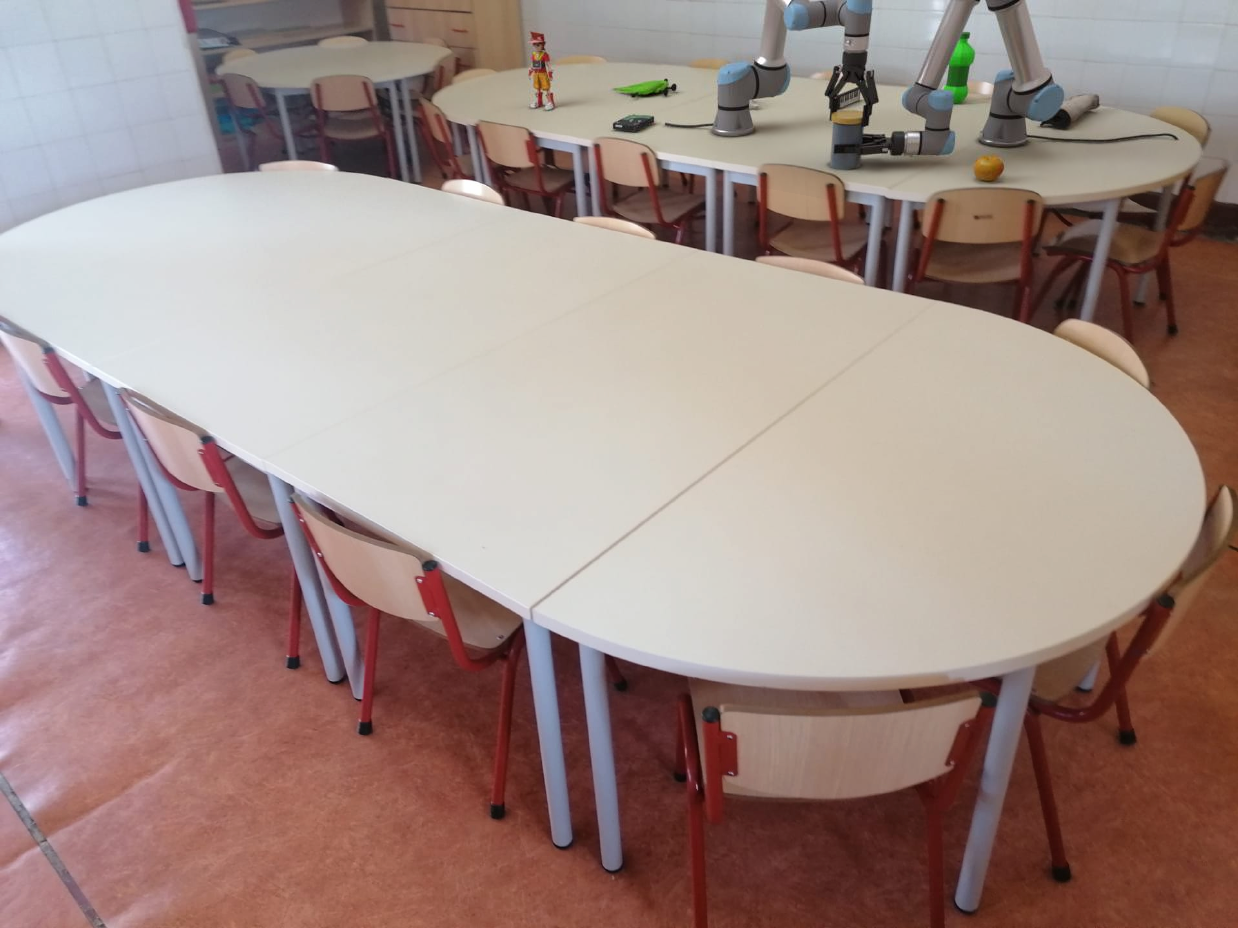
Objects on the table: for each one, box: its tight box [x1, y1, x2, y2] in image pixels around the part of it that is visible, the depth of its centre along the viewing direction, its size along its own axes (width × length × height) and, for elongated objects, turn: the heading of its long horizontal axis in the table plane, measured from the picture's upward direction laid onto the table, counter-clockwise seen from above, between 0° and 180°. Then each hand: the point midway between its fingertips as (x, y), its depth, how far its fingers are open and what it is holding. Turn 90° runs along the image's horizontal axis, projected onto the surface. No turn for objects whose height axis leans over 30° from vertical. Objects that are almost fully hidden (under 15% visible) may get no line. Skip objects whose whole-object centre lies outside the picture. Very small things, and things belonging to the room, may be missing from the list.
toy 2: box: [612, 78, 677, 99], centre depth 396 cm, size 28×5×30 cm
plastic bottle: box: [942, 31, 976, 104], centre depth 348 cm, size 10×10×25 cm
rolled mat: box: [1039, 93, 1101, 130], centre depth 325 cm, size 30×9×10 cm
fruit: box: [973, 154, 1005, 182], centre depth 274 cm, size 8×8×8 cm
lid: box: [831, 109, 863, 124], centre depth 287 cm, size 11×11×2 cm
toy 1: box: [527, 31, 556, 111], centre depth 374 cm, size 12×9×30 cm
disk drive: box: [612, 114, 655, 133], centre depth 348 cm, size 10×3×15 cm
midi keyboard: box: [836, 86, 861, 110], centre depth 359 cm, size 18×1×5 cm, turn 138°
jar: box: [829, 121, 865, 170], centre depth 292 cm, size 10×10×15 cm
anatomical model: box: [749, 99, 760, 109], centre depth 364 cm, size 15×10×10 cm
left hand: (848, 123), depth 288 cm, fingers open, 12 cm apart
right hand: (833, 144), depth 293 cm, fingers closed on jar, 10 cm apart
